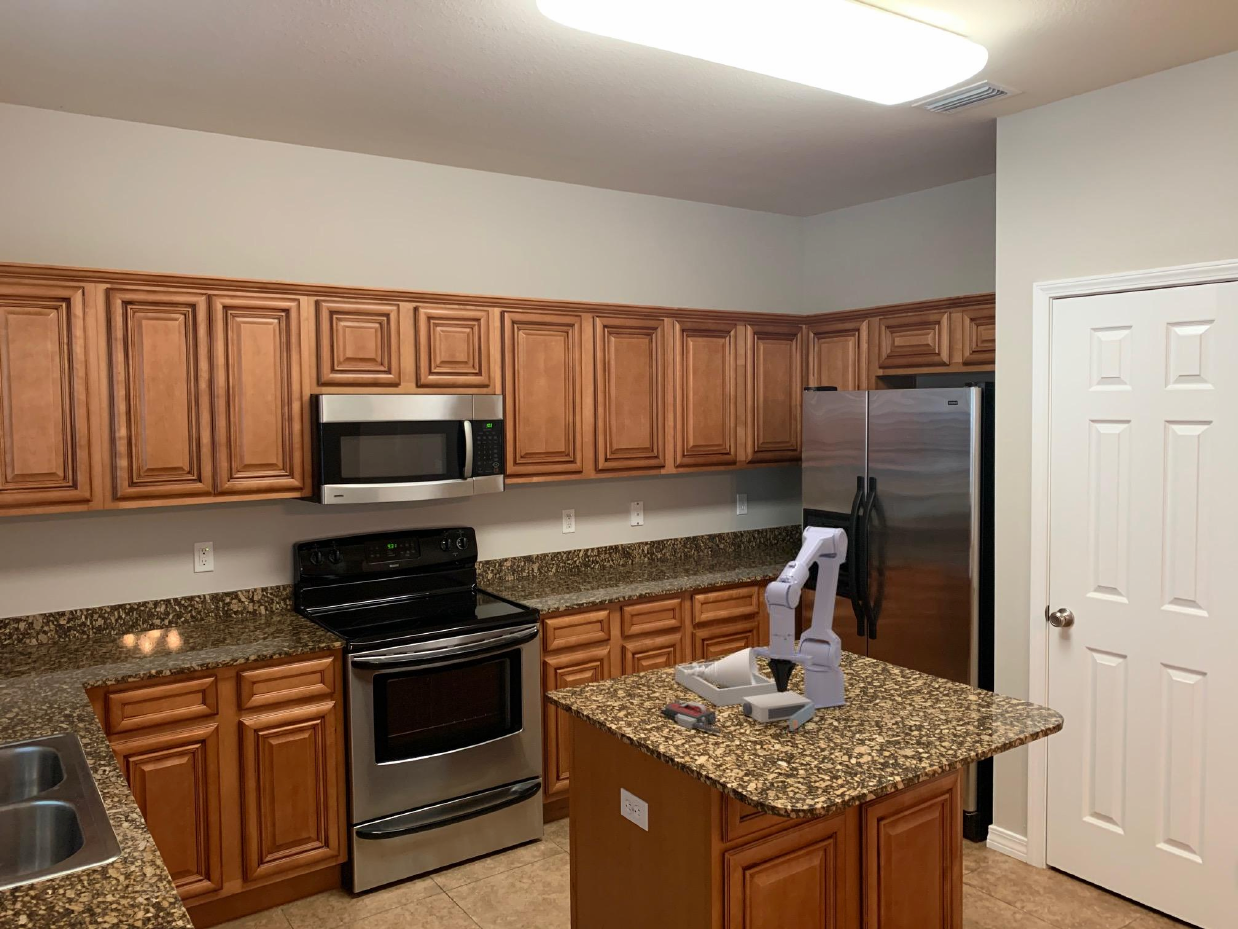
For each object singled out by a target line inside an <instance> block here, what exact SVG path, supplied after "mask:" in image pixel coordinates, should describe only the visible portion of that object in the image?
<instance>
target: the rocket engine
mask: <svg viewBox="0 0 1238 929" xmlns="http://www.w3.org/2000/svg"><path fill="white" fill-rule="evenodd" d="M714 662H715V663H714V664H712V665H711V666H709V667H708V668H706V669H705V667H704V666H701V668H698V667H699V666H698V664H699V663H698V662H697V661H696V662H692V664H693V665H692V666H693V668H694V669H693V670H692V669H691V670H690V669H689V670H688V669H687V671H684V673H685V675H688V674H689V675H690V674H693V675H696V676H697V677H699V678H701V679H703V680H704V681H706V682H708V681H709V682H710V683H714V684H716V685H717V686H718V687H720V686H722V687H725V688H732V687H740V686H748V685H756V682H755V680H754V678H753V674H752V673H758V674H759V669H758V662H757V657H754V656H753V648H752V647H748V648H747V647H746V648H745V649H742V650H739V651H737V652H734V653H731V654H730V655H728V656H725V657H724V658H722V659H719V660H718V662H717V660H716V661H714Z"/></svg>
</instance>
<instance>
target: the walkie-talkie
mask: <svg viewBox="0 0 1238 929" xmlns="http://www.w3.org/2000/svg"><path fill="white" fill-rule="evenodd" d="M659 712H660V714H661V715H663V716H664V717H665V718H667V719H670V720H673V721H676V723H677V724H678V726H680V727H684V728H686V729H688V730H692V729H700V730H703V731H706V732H709V733H710V732H713V733H715V734H718V735H719V734H720V735H721V730H720V729H716V728H715V727H710V726H708V725H710V724H714V723H716V720H717V716H716V711H714V710H711V709H708V708H707V706H706V705H705V704H702V703H700V702H696V701H691V702H689V703H687V702H686V700H682V701H680V700H677V701H675V702H671V703H668V704H667V703H666V704H665V706H664V709H661V710H659Z"/></svg>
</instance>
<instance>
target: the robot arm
mask: <svg viewBox="0 0 1238 929" xmlns="http://www.w3.org/2000/svg"><path fill="white" fill-rule="evenodd" d="M801 538H802V539H801V540H802V542H801V543H802V544H801V545H802V546H801V547H800V548H801V549H800V551H799V552H798V554H797V556H796V558H795V560H792V561H789V562H788V563H787V564H786V566H785V567H784V569H783V570H782V571H781V573H780V575H779V576H778V578H777V579H776V581H772V582H769V583H768V585H767V586H766V587H765V588H766V589H765V593H764V600H765V604H766V606H767V607H766V608H767V613H768V614H769V647H760V646H757V647H754V648H752V649H753V656H754V657H756V658H758V657H759V658H764V659H770V660H769V661H767V667H768V669H769V670H770V672H771V674H772V676H773V679H774V682H775V683H776V687H777V693H783V692H788V686H789V682H790V678H791V677H792V674H793V672H794V670H795V668H796V666H797V664H798V665H799V664H800V665H801V668H803V670H804V672H803V673H804V674H803V675H804V679H803V680H804V681H803V683H804V689H803V690H804V692H803V693H804V694H803V697H805V698H807V699H809V700H811V701H812V703H815V709H822V708H831V707H837V706H838V707H839V706H843V705H847V702H846V701H845V677H844V672H843V670H842V669H841V667H839V666H840V665H841V661H842V656H843V655H842V640H841V638H840V637H839V636H838V635H837V634H836V633H835V632H834V631H833V630H832V627H833V619H834V610H835V603H836V594H837V586H838V580H839V579H838V578H839V571H840V565H842V564H843V563H845V562H846V558H847V557H846V556H847V550H848V536H847V533H846V531H845V529H843V528H840V527H839V528H833V527H821V526H820V527H817V526H811V525H808V526H807V527H806V528H805V529H804V530H803V533H802V537H801ZM814 562H816V563H817V564H818V572H817V573H818V574H817V580H816V587H815V596H814V603H813V604H814V605H813V612H812V617H811V618H812V619H811V627H810V628H808V629H806V630H805V631H804V632H802V633H801V635H800V640H799V642H798V645H797V648H795V646H796V644H795V642H796V640H795V633H796V630H795V629H796V628H795V627H796V626H795V622H796V621H795V619H796V618H795V613H796V612H795V611H796V610H795V608H796V607H797V606H798V605H799V602H800V596H801V594H802V590H801V589H802V588H803V586H804V584H805V583H806V581H807V580H808V578H809V577H810V571H809V568H810V567H811V566H812V565H813V563H814ZM824 641H825V642H824ZM795 649H797V650H795Z"/></svg>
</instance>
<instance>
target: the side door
mask: <svg viewBox="0 0 1238 929" xmlns="http://www.w3.org/2000/svg"><path fill="white" fill-rule="evenodd" d="M815 712H816V711H815V703H812V702H811V703H810V704H808V705H807V706H806V707H804V708H803V709H801V710H800V711H798V712H797V713H795V714H794V715H792V716H791V717H789V719H788V721H789V724H788V725H789V726H788V727H789V731H791V732H794V731H795V730H796V729H798V728H799V727H800V726H802V725H803V724H804V723H807V721H809V720H811V719H812V718H813V717H815V715H816V714H815Z"/></svg>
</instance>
